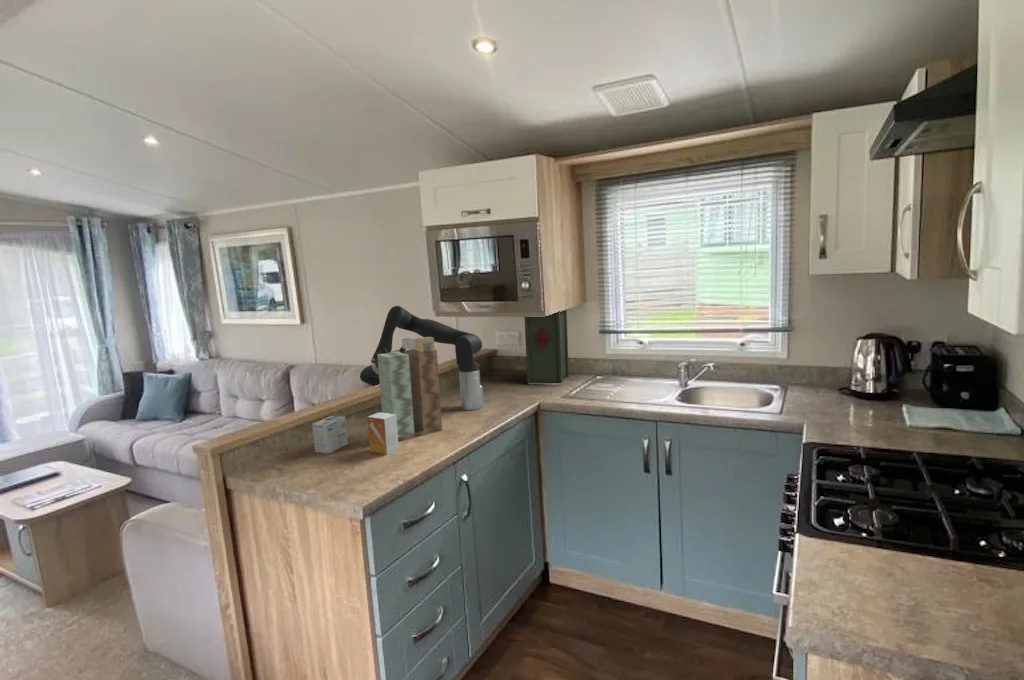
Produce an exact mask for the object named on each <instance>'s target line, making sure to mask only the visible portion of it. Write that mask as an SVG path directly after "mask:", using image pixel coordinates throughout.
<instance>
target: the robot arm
mask: <svg viewBox="0 0 1024 680" xmlns="http://www.w3.org/2000/svg"><path fill="white" fill-rule="evenodd" d="M396 328H398V329H400V330H404V331H409V332H413V333H415V334H417V335H418V336H420V337H421V338H423V337H433V338H434V343H439V344H443V345H445V344H446V345H453V346H454V351H455V352H454V353H455V359H456V365H457V367H458V374H459V375H458V376H459V377H458V378H459V391H460V393H459V394H460V406H461V407H460V408H461V409H462V410H464V411H473V410H478V409H481V408H483V407H484V393H483V385H481V373H480V364H479V362H476V361H475V360H474V355H475V354H477V353H479V352H480V351H481V350H482V348H483V342H482V340H481V338H480V337H479V336H478V335H476V334H475V333H470V332H466V331H462V330H460V329H456V328H454V327H452V326H449V325H446V324H444V323H442V322H440V321H437V320H434V319H429V318H421V317H418V316H416V315H414V314H412V313H411V312H409V311H408V310H407V309H405V308H403V307H402V306H400V305H394V306H392V307H391V308H390V309H389V311H388V313H387V315H386V319H385V322H384V325H383V328H382V333H381V335H380V340H379V341H378V344H377V346H376V349H375V350H374V353H373V356H372V357H371V360H370V362H371V364H370V365H368V366H366V367H365V368H363V369H362V370H361V371H360V373H359V378H360V381H362V382H363V383H364V384H367V385H370V386H372V387H374V386H375V385H378V384H380V382H379V369H378V357H377V355H378V354H384V353H391V352H400V353H405V354H406V350H407V349H406V348H402V346H401V347H400V348H399V349H395V350H392V349H393V340H394V339H393V337H394V334H395V330H396Z"/></svg>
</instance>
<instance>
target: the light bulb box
mask: <svg viewBox="0 0 1024 680" xmlns="http://www.w3.org/2000/svg"><path fill="white" fill-rule="evenodd" d="M346 421H347V420H346V416H341V415H330V416H328V417H326V418H324V419H321V420H319V421H316V422H314V423H311V425H312V434H313V436H312V437H313V443H314V444H313V445H314V452H315V453H319V452H321V453H320V454H328V453H329V454H331V453H333V452H335V451H337V450H339V449H341V448H343V447H345V446H346V445H348V442H349V441H348V433H347V423H346Z"/></svg>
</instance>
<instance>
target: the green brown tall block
mask: <svg viewBox="0 0 1024 680" xmlns="http://www.w3.org/2000/svg"><path fill="white" fill-rule="evenodd" d="M377 357H378V369H379V382H380V385H379V390H380V391H379V392H380V403H381V404H380V405H381V413H389V414H396V420H397V432H398V442H403V441H405V440H409V439H413V438H417V437H421V436H425V435H428V434H432V433H433V434H434V433H437V432H440V431H443V423H442V422H443V421H442V410H441V409H442V408H441V406H442V405H441V394H440V379H439V378H440V376H439V364H438V363H439V362H438V350H437V349H434V351H427V352H421V353H420V352H416V350H411V349H406V354H405V353H400V351H399V352H393V351H391V353H384V354H378V355H377Z"/></svg>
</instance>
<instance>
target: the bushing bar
mask: <svg viewBox="0 0 1024 680" xmlns="http://www.w3.org/2000/svg"><path fill="white" fill-rule="evenodd" d="M401 347H402V348H406V350H416V352H420V353H421V352H427V351H434V350H435V342H434V338H433V337H417V338H413V337H412V338H411V337H407V338H401Z"/></svg>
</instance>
